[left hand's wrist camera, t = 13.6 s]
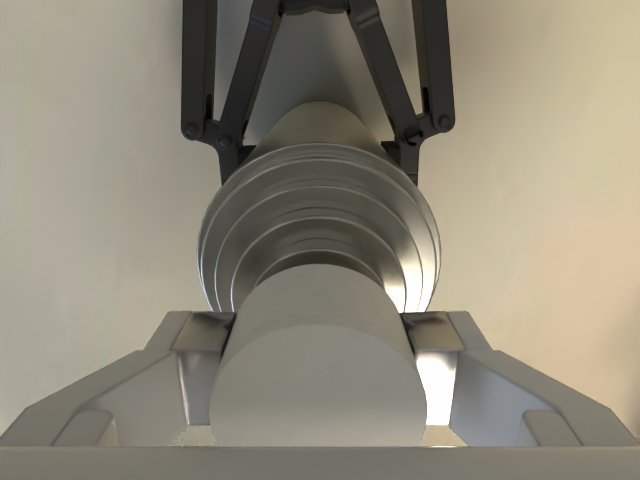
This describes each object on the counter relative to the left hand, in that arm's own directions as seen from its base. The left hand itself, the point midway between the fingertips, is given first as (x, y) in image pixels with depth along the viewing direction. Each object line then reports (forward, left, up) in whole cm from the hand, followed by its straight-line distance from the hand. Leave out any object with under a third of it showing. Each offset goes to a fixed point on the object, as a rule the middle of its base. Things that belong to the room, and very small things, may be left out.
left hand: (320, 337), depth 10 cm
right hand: (-2, +4, -17) cm, 18 cm away
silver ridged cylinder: (0, 0, -24) cm, 24 cm away
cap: (0, 0, +2) cm, 2 cm away
